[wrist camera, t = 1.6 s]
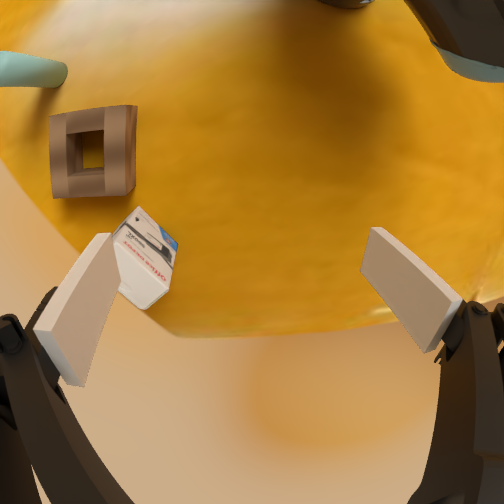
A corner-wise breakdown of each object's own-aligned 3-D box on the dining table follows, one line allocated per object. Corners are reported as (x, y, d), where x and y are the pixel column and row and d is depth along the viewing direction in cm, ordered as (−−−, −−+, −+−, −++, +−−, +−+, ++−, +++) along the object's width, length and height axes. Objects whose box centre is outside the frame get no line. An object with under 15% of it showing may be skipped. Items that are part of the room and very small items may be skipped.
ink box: (179, 243, 39) (171, 291, 29) (157, 263, 40) (144, 313, 30) (138, 203, 35) (113, 240, 25) (117, 226, 36) (89, 268, 26)
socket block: (66, 114, 27) (49, 116, 23) (137, 106, 29) (126, 104, 25) (69, 188, 32) (53, 198, 28) (135, 185, 34) (125, 195, 30)
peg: (47, 65, 22) (-12, 57, 10) (69, 59, 23) (12, 45, 11) (44, 90, 24) (-17, 91, 12) (66, 85, 25) (6, 81, 13)
